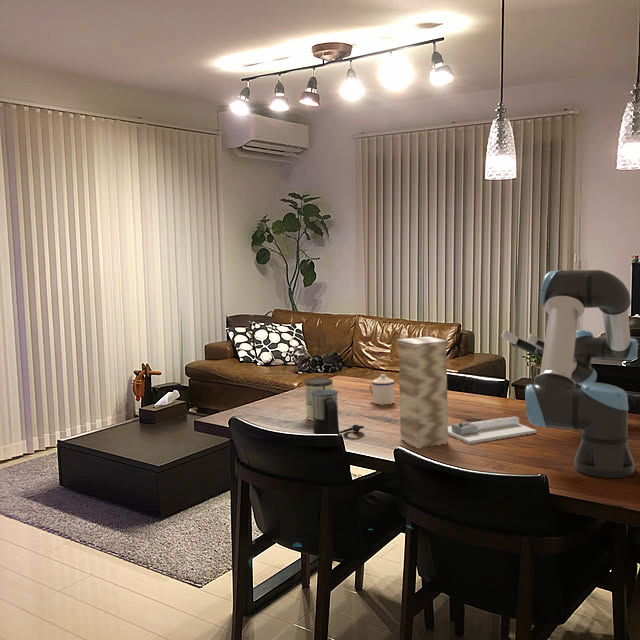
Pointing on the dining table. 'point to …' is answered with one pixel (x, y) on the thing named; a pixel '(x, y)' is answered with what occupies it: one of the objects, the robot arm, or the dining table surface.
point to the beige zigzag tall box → (423, 391)
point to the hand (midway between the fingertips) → (515, 335)
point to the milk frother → (327, 413)
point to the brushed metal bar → (483, 425)
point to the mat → (493, 433)
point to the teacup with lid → (382, 390)
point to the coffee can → (313, 386)
